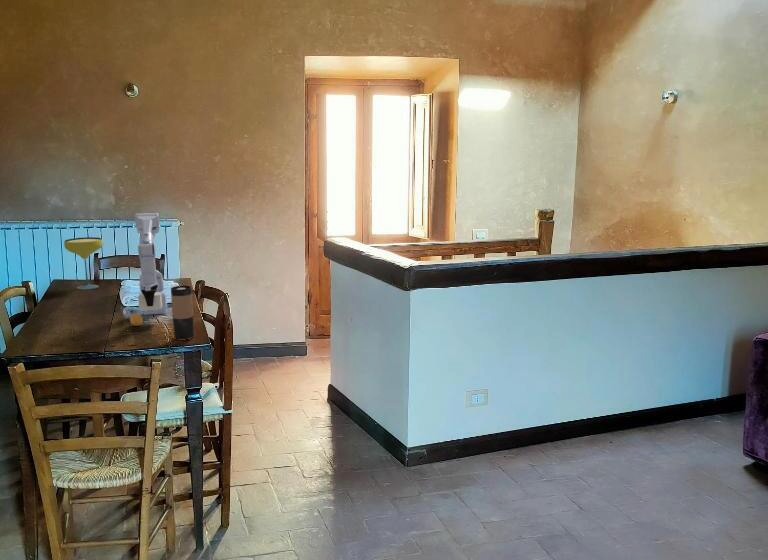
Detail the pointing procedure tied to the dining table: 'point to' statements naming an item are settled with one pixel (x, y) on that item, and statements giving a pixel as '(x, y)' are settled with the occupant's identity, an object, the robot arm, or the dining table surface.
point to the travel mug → (182, 312)
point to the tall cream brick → (156, 304)
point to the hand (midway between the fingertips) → (151, 304)
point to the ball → (136, 319)
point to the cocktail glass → (84, 252)
